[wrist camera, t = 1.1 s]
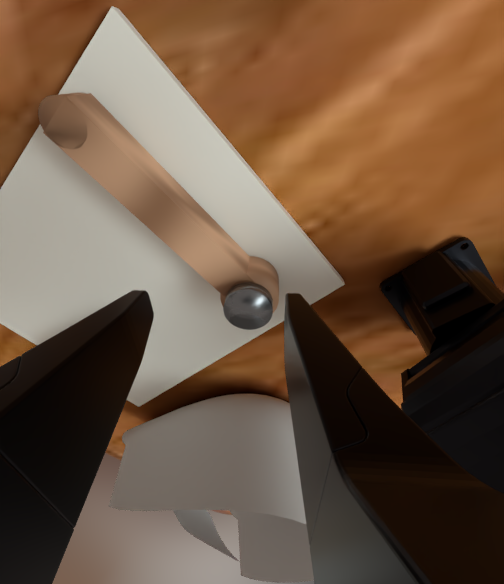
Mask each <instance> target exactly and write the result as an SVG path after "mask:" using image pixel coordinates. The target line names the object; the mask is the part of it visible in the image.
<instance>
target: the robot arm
mask: <svg viewBox="0 0 504 584" xmlns="http://www.w3.org/2000/svg"><path fill="white" fill-rule="evenodd" d="M464 243H466V244H465V245H464V246H463V247H461V245H462V244H464ZM386 286H390V287H389V288H385V287H386ZM380 289H381V291H382V292H383V294H384V295H385V296H386V298H387V299H388V300H389V302H390V303H391V304H392V305H393V307H394V308H395V309H396V311H397V312H398V313H399V314H400V316H401V317H402V318H403V320H404V321H405V322H406V323H407V325H408V326H409V327H410V329H411V330H412V331H413V333H414V334H415V335H416V336H417V337H418V339H419V341H420V343H421V345H422V347H423V349H424V351H425V353H426V354H427V357H425V358H424V359H423V360H421V361H420V362H419V363H417V364H416V365H415V366H413V367H412V368H411V369H407V370H405V371H404V372H403V373H401V377H402V392H403V403H402V404H401V409H402V410H401V409H400V408H399V407H398V406H397V405H396V404H395V403H394V402H393V401H392V400H391V399H390V398H389V397H388V396H387V395H386V393H385V392H384V391H383V390H382V389H381V388H380V387H379V386H378V385H377V383H376V382H375V381H374V380H373V379H372V378H371V377H370V375H369V374H368V373H367V372H366V371H365V369H363V368H362V366H361V365H360V364H359V363H358V361H357V360H356V359H355V358H354V357H353V355H352V354H351V353H350V352H349V351H348V350H347V348H346V347H345V346H344V345H343V344H342V342H341V341H340V340H339V339H338V338H337V337H336V335H335V334H334V333H333V332H332V331H331V329H330V328H329V327H328V326H327V325H326V324H325V322H324V321H323V320H322V319H321V318H320V316H319V315H318V314H317V313H316V312H315V311H314V309H313V308H312V307H311V306H310V305H309V303H308V302H307V301H306V300H305V299H304V298H303V296H302V295H301V294H299V293H287V294H286V295H285V314H284V359H285V374H286V381H287V388H288V395H289V403H290V410H291V417H292V424H293V431H294V439H295V446H296V453H297V460H298V467H299V475H300V482H301V489H302V496H303V503H304V511H305V518H306V525H307V532H308V539H309V545H310V554H311V561H312V569H313V576H314V583H315V584H504V293H503V292H502V291H501V290H499V289H498V288H497V287H496V285H495V284H494V282H493V280H492V278H491V276H490V274H489V272H488V270H487V269H486V267H485V265H484V263H483V261H482V259H481V257H480V256H479V254H478V252H477V250H476V248H475V246H474V244H473V242H472V241H471V240H469V239H468V238H466V237H462V238H459V239H457V240H456V241H454V242H452V243H450V244H449V245H447V246H445V247H443V248H441V249H440V250H438V251H436V252H434V253H432V254H431V255H429V256H427V257H425V258H423V259H422V260H420V261H418V262H416V263H415V264H413V265H411V266H409V267H408V268H406V269H404V270H403V271H401V272H399V273H397V274H395V275H394V276H392V277H390V278H388V279H387V280H385V281H383V282H382V283H381V284H380ZM153 318H154V312H153V308H152V305H151V301H150V297H149V294H148V292H147V291H145V290H132V291H131V292H129V293H127V294H125V295H124V296H122V297H120V298H118V299H117V300H115V301H113V302H112V303H110V304H108V305H106V306H105V307H103V308H101V309H99V310H98V311H96V312H94V313H93V314H91V315H89V316H87V317H86V318H84V319H82V320H80V321H79V322H77V323H75V324H74V325H72V326H70V327H68V328H67V329H65V330H63V331H61V332H60V333H58V334H56V335H55V336H53V337H51V338H49V339H48V340H46V341H44V342H42V343H41V344H39V345H37V346H36V347H34V348H32V349H30V350H29V351H27V352H25V353H24V354H22V356H18V357H16V358H15V359H13V360H11V361H10V362H8V363H6V364H4V365H3V366H1V367H0V584H52V583H53V580H54V578H55V575H56V573H57V570H58V568H59V565H60V563H61V560H62V558H63V556H64V553H65V551H66V548H67V545H68V543H69V541H70V538H71V536H72V533H73V531H74V529H73V528H74V527H75V525H76V523H77V520H78V518H79V516H80V513H81V511H82V508H83V506H84V503H85V501H86V498H87V496H88V493H89V491H90V488H91V486H92V483H93V481H94V478H95V476H96V473H97V471H98V469H99V466H100V464H101V461H102V459H103V456H104V454H105V451H106V449H107V447H108V444H109V442H110V439H111V437H112V434H113V432H114V429H115V427H116V424H117V422H118V419H119V417H120V414H121V412H122V410H123V407H124V405H125V402H126V400H127V397H128V395H129V392H130V390H131V387H132V385H133V382H134V380H135V377H136V375H137V373H138V370H139V367H140V365H141V362H142V359H143V356H144V352H145V348H146V345H147V341H148V337H149V334H150V330H151V326H152V323H153Z"/></svg>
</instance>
